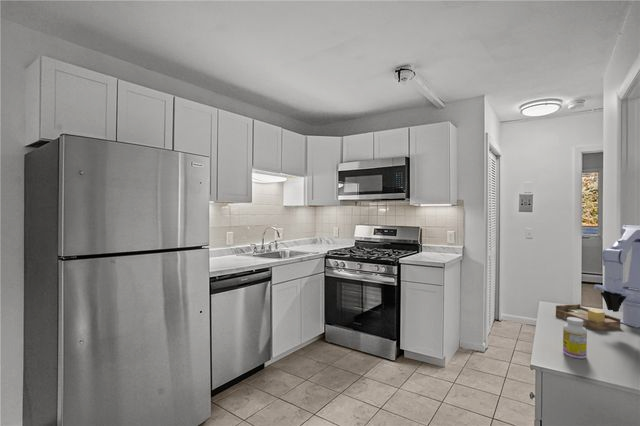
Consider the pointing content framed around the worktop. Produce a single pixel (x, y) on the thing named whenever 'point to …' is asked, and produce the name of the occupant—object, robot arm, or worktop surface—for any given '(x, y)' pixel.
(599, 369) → the worktop surface
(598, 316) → the ochre block
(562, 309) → the box
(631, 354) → the worktop surface
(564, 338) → the supplement bottle
